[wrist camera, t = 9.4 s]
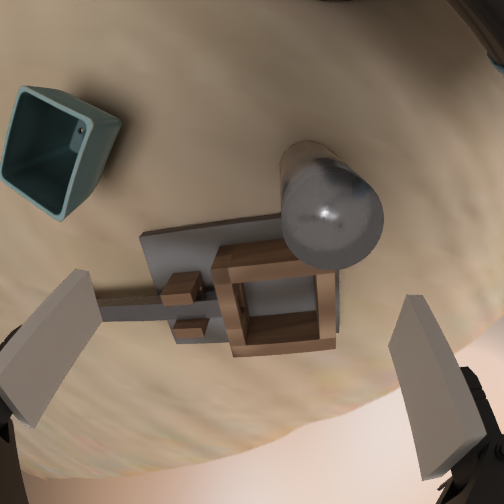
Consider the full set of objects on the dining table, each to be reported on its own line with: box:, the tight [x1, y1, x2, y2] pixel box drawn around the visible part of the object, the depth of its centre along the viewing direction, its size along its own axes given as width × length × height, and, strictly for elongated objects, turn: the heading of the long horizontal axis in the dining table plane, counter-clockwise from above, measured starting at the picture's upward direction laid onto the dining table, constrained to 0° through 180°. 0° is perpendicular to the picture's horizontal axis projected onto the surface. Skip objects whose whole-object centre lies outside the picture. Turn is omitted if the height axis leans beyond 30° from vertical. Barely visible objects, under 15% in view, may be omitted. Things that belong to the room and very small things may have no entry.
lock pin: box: [96, 291, 222, 322], centre depth 30 cm, size 4×20×9 cm, turn 99°
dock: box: [139, 214, 339, 357], centre depth 30 cm, size 14×19×6 cm
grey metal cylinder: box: [280, 141, 384, 270], centre depth 21 cm, size 5×5×14 cm
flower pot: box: [0, 86, 121, 222], centre depth 23 cm, size 9×9×9 cm
